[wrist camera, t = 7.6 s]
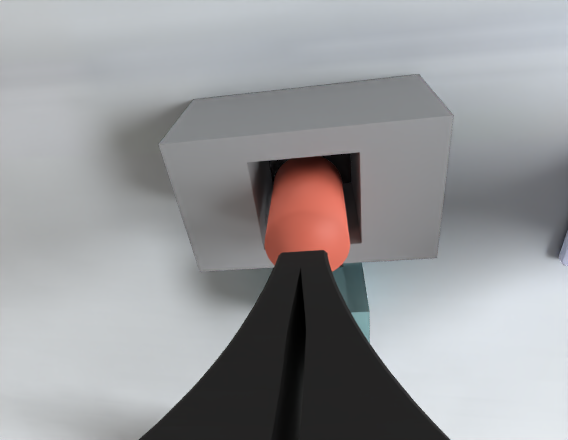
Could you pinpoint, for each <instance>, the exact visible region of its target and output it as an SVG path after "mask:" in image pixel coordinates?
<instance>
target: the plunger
mask: <svg viewBox="0 0 568 440" xmlns="http://www.w3.org/2000/svg"><path fill="white" fill-rule="evenodd" d="M264 245H265V251H266V254H267V256H268V258H269V260H270V261H271V262H272V263H273V265H275V264H276V261H277V259H278V256H279V255H280V254H281V253H283V252H298V251H314V250H324V251H326V252H327V253H328V260H329V264H330V267H331V270H332V272H333V271H334V270H336V269H337V268H338V267H340V266H341V265H342V264H343V262H344V261H345V260H346V258H347V256H348V254H349V250H350V239H349V231H348V223H347V215H346V208H345V200H344V192H343V185H342V178H341V175H340V173H339V171H338V169H337V168H336V167H335V165H334V164H333V163H331V162H330V161H329V160H327V159H325V158H323V157H320V156H313V157H302V158H291V159H289V160H288V161H286V162H285V163H284V164H283V165H282V166H281V167H280V168H279V169H278V171H277V173H276V176H275V179H274V185H273V191H272V198H271V204H270V210H269V216H268V223H267V229H266V235H265V244H264Z"/></svg>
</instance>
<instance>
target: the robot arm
mask: <svg viewBox="0 0 568 440" xmlns="http://www.w3.org/2000/svg"><path fill="white" fill-rule="evenodd" d="M559 260H560V262H561V263H562V264H563V265H565V266H568V231H567V234H566V237H565V240H564V243H563V246H562V249H561V251H560V254H559ZM139 440H450V439H449V438H448V437H447V436H446V435H445V434H444V433H443V432H442V431H441V430H440V429H439V428H438V426H437V425H436V424H435V423H434V422H433V421H432V420H431V419H430V418H429V417H428V416H427V415H426V414H425V412H424V411H423V410H422V409H421V408H420V407H419V406H418V405H417V404H416V403H415V401H414V400H413V399H412V398H411V397H410V395H409V394H408V393H407V392H406V391H405V389H404V388H403V387H402V386H401V385H400V383H399V382H398V381H397V380H396V378H395V377H394V376H393V375H392V374H391V372H390V371H389V370H388V368H387V367H386V366H385V364H384V363H383V362H382V360H381V359H380V358H379V356H378V355H377V353H376V352H375V351H374V349H373V348H372V346H371V345H370V343H369V342H368V340H367V339H366V337H365V336H364V334H363V332H362V331H361V329H360V328H359V326H358V324H357V322H356V321H355V319H354V317H353V316H352V314H351V312H350V310H349V308H348V306H347V304H346V302H345V300H344V298H343V296H342V294H341V292H340V290H339V288H338V286H337V283H336V281H335V278H334V276H333V273H332V270H331V267H330V264H329V260H328V253H327V252H326V251H324V250H314V251H298V252H283V253H281V254H280V255H279V256H278V259H277V261H276V264H275V266H274V268H273V271H272V273H271V275H270V277H269V279H268V281H267V283H266V285H265V287H264V289H263V291H262V292H261V294H260V296H259V298H258V300H257V302H256V303H255V305H254V307H253V308H252V310H251V312H250V313H249V315H248V316H247V318H246V320H245V321H244V323H243V324H242V326H241V327H240V329H239V330H238V332H237V333H236V335H235V336H234V338H233V339H232V340H231V342H230V343H229V345H228V346H227V347H226V349H225V350H224V351H223V352H222V354H221V355H220V356H219V358H218V359H217V360H216V361H215V362H214V364H213V365H212V366H211V367H210V368H209V370H208V371H207V372H206V373H205V374H204V376H203V377H202V378H201V379H200V380H199V381H198V382H197V384H196V385H195V386H194V387H193V388H192V389H191V390H190V391H189V392H188V393H187V394H186V395H185V396H184V397H183V398H182V399H181V400H180V401H179V402H178V403H177V404H176V405H175V406H174V407H173V408H172V409H171V410H170V411H169V412H168V413H167V414H166V415H165V416H164V417H163V418H162V419H161V420H160V421H159V422H158V423H157V424H156V425H155V426H154V427H153V428H151V429H150V430H149V431H148V432H147V433H146V434H145V435H143V436H142V437H141V438H140V439H139Z"/></svg>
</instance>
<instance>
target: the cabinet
mask: <svg viewBox="0 0 568 440" xmlns="http://www.w3.org/2000/svg"><path fill="white" fill-rule="evenodd" d="M453 116H454V115H453V114H452V113H451V112H450V110H449V109H448V108H447V107H446V106H445V105H444V103H443V102H442V101H441V100H440V99H439V97H438V96H437V95H436V94H435V93H434V91H433V90H432V89H431V88H430V87H429V86H428V84H427V83H426V82H425V81H424V80H423V78H422V77H421V76H420V75H419V74H418V75H409V76H400V77H391V78H382V79H373V80H364V81H355V82H346V83H337V84H328V85H319V86H310V87H301V88H292V89H283V90H274V91H265V92H256V93H247V94H238V95H229V96H220V97H211V98H202V99H193V100H192V102H191V103H190V104H189V106H188V107H187V108H186V109H185V111H184V112H183V113H182V115H181V116H180V117H179V118H178V120H177V121H176V122H175V124H174V125H173V126H172V127H171V129H170V130H169V131H168V133H167V134H166V135H165V136H164V138H163V139H162V140H161V142H160V143H159V144H158V145H159V148H160V151H161V154H162V157H163V160H164V163H165V166H166V170H167V173H168V176H169V179H170V182H171V185H172V188H173V191H174V194H175V197H176V200H177V203H178V206H179V209H180V212H181V215H182V219H183V222H184V225H185V228H186V231H187V234H188V237H189V240H190V243H191V246H192V249H193V252H194V255H195V258H196V261H197V264H198V267H199V271H200V272H203V271H221V270H238V269H255V268H273V267H274V266H275V265H273V263H272V262H271V261H270V260H269V258H268V256H267V254H266V251H265V245H264V244H265V235H266V229H267V223H268V216H269V210H270V204H271V198H272V191H273V183H272V177H271V171H270V164H269V160H280V159H291V158H302V157H313V156H324V155H335V154H346V153H351V181H352V183H342V185H343V192H344V200H345V208H346V215H347V223H348V231H349V239H350V250H349V254H348V256H347V258H346V260H345V261H344V262H343V263H359V262H376V261H394V260H411V259H428V258H437V253H438V245H439V236H440V227H441V219H442V210H443V202H444V193H445V185H446V176H447V168H448V159H449V151H450V142H451V133H452V125H453Z"/></svg>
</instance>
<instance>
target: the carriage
mask: <svg viewBox="0 0 568 440" xmlns="http://www.w3.org/2000/svg"><path fill="white" fill-rule="evenodd" d="M342 266H343V267H338V268H337V269H336V270H334V271H333V272H332V273H333V276H334V278H335V281H336V283H337V286H338V288H339V290H340V292H341V294H342V296H343V298H344V300H345V302H346V304H347V306H348V308H349V310H350V312H351V314H352V316H353V317H354V319H355V321H356V322H357V324H358V326H359V328H360V329H361V331H362V332H363V334H364V336H365V337H366V339H367V340H368V342H369V343H370V321H369V306H368V300H367V293H366V287H365V281H364V274H363V268H362V262H359V263H343V264H342Z"/></svg>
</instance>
